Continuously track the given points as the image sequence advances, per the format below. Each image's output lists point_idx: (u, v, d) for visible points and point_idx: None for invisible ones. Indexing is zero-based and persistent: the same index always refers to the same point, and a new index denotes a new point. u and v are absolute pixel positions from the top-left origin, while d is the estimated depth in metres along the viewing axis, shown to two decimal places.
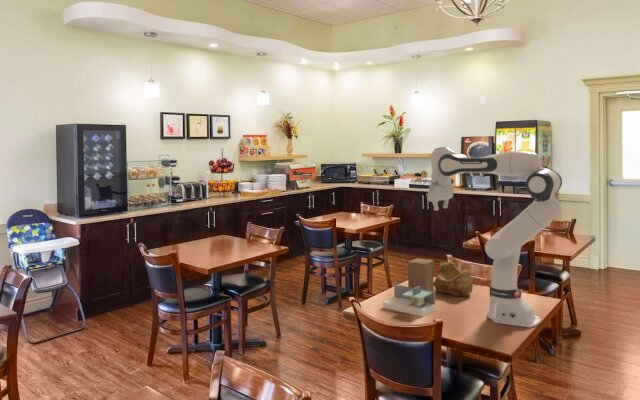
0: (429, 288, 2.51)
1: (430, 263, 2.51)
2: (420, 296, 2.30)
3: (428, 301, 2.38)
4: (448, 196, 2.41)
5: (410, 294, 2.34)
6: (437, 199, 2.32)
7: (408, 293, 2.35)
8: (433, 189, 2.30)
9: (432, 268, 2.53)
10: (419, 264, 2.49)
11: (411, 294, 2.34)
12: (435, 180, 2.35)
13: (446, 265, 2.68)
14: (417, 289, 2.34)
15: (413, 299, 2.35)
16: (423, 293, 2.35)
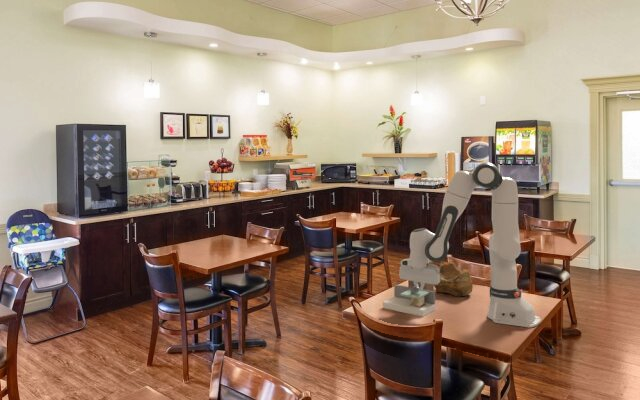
0: (429, 288, 2.51)
1: (430, 263, 2.51)
2: (417, 296, 2.31)
3: (428, 301, 2.38)
4: None
5: (408, 294, 2.35)
6: None
7: (406, 293, 2.36)
8: None
9: None
10: None
11: (409, 294, 2.35)
12: (426, 262, 2.30)
13: (446, 265, 2.68)
14: (415, 289, 2.35)
15: (413, 299, 2.35)
16: (421, 293, 2.35)
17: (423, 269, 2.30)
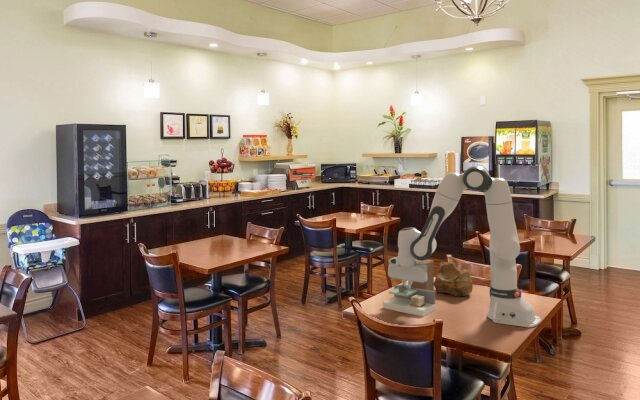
0: (429, 288, 2.51)
1: (430, 263, 2.51)
2: (405, 293, 2.35)
3: (428, 301, 2.38)
4: None
5: (396, 291, 2.39)
6: None
7: (394, 290, 2.40)
8: None
9: (432, 268, 2.53)
10: None
11: (397, 291, 2.39)
12: (414, 261, 2.34)
13: (446, 265, 2.68)
14: (403, 286, 2.39)
15: (413, 299, 2.35)
16: (409, 290, 2.40)
17: (411, 267, 2.35)
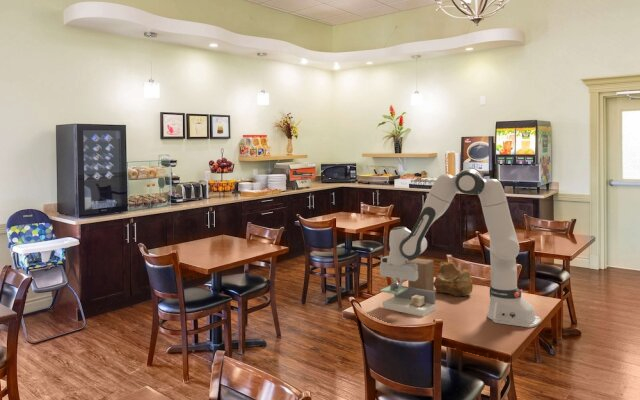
0: (429, 288, 2.51)
1: (430, 263, 2.51)
2: (396, 292, 2.38)
3: (428, 301, 2.38)
4: None
5: (387, 290, 2.42)
6: None
7: (386, 289, 2.44)
8: None
9: (432, 268, 2.53)
10: (419, 264, 2.49)
11: (388, 290, 2.42)
12: (405, 259, 2.38)
13: (446, 265, 2.68)
14: (394, 285, 2.42)
15: (413, 299, 2.35)
16: (400, 289, 2.43)
17: (402, 266, 2.38)
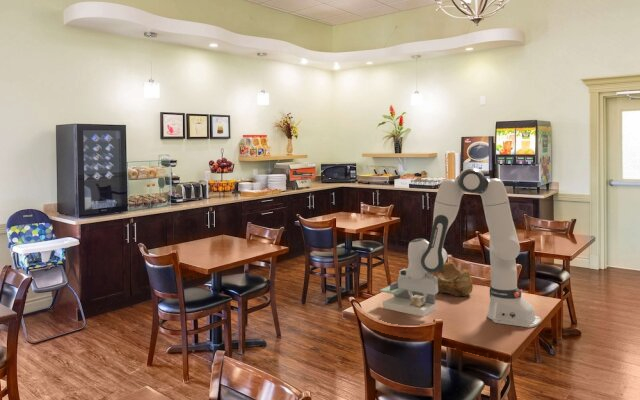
0: None
1: None
2: (396, 292, 2.38)
3: (428, 301, 2.38)
4: None
5: (387, 290, 2.42)
6: None
7: (385, 289, 2.44)
8: None
9: None
10: None
11: (388, 290, 2.42)
12: (425, 272, 2.31)
13: (446, 265, 2.68)
14: (394, 285, 2.42)
15: (413, 299, 2.35)
16: (400, 289, 2.43)
17: (421, 279, 2.32)
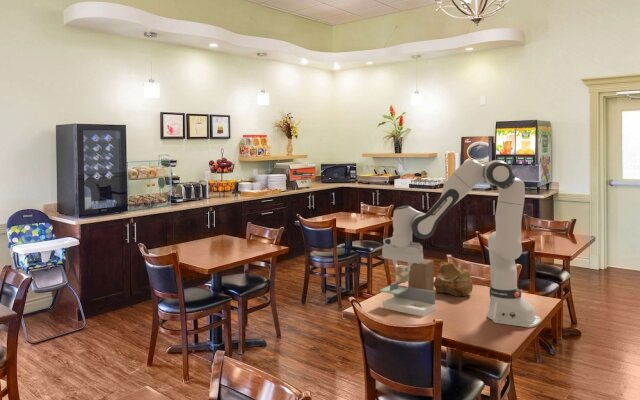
0: (429, 288, 2.51)
1: (430, 263, 2.51)
2: (396, 292, 2.38)
3: (428, 301, 2.38)
4: None
5: (387, 290, 2.42)
6: None
7: (385, 289, 2.44)
8: None
9: (432, 268, 2.53)
10: (419, 264, 2.49)
11: (388, 290, 2.42)
12: (410, 241, 2.23)
13: (446, 265, 2.68)
14: (394, 285, 2.42)
15: (397, 268, 2.27)
16: (400, 289, 2.43)
17: (406, 248, 2.24)
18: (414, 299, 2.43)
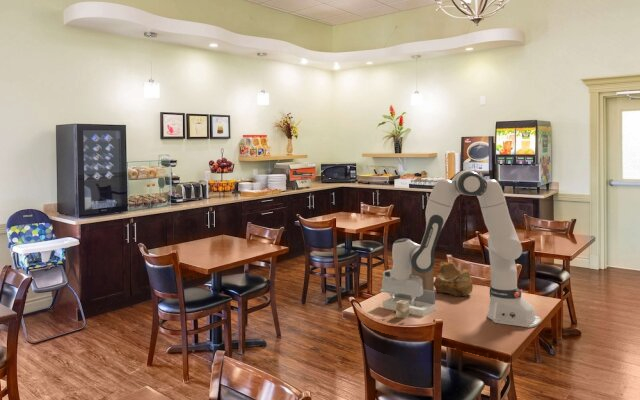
0: (429, 288, 2.51)
1: None
2: None
3: (428, 301, 2.38)
4: None
5: None
6: None
7: None
8: None
9: (432, 268, 2.53)
10: None
11: None
12: (409, 274, 2.24)
13: (446, 265, 2.68)
14: None
15: (398, 304, 2.28)
16: None
17: (406, 281, 2.24)
18: None
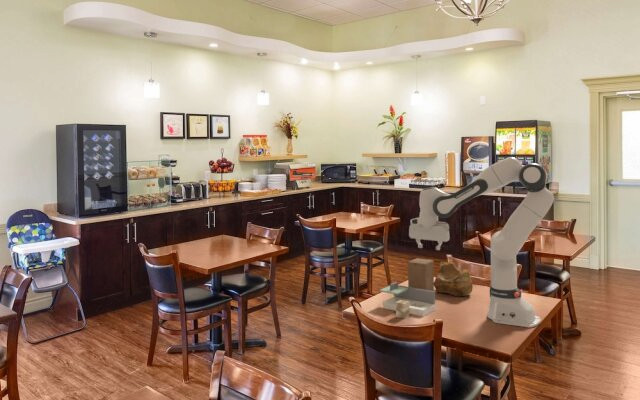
0: (429, 288, 2.51)
1: (430, 263, 2.51)
2: (396, 292, 2.38)
3: (428, 301, 2.38)
4: None
5: (387, 290, 2.42)
6: None
7: (385, 289, 2.44)
8: None
9: (432, 268, 2.53)
10: (419, 264, 2.49)
11: (388, 290, 2.42)
12: (436, 220, 2.34)
13: (446, 265, 2.68)
14: (394, 285, 2.42)
15: (398, 304, 2.28)
16: (400, 289, 2.43)
17: (433, 227, 2.34)
18: (414, 299, 2.43)
